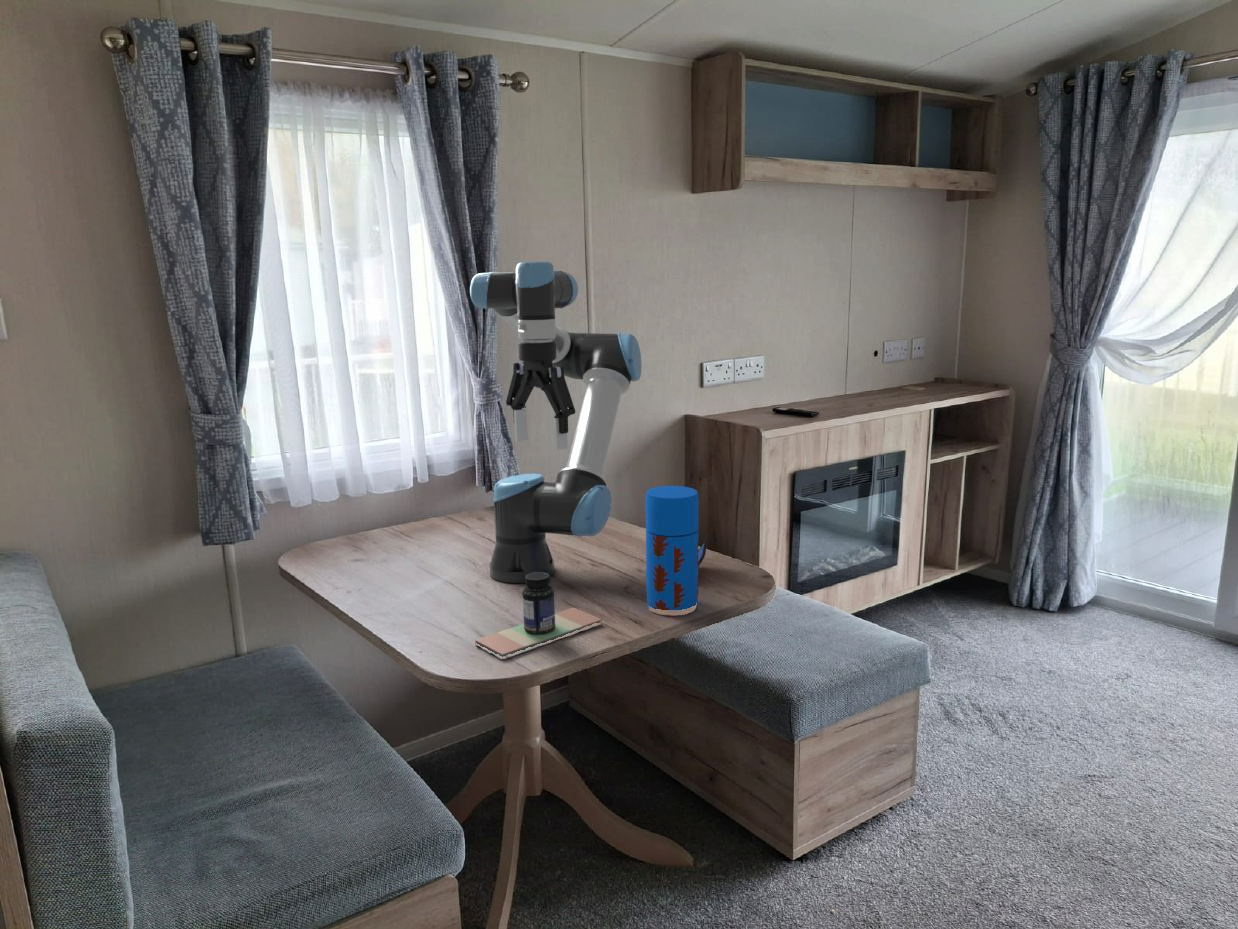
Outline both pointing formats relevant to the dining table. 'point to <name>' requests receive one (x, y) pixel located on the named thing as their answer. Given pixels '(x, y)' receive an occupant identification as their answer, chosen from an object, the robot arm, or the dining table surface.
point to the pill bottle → (538, 604)
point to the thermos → (672, 547)
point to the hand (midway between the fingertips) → (540, 444)
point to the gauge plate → (521, 639)
